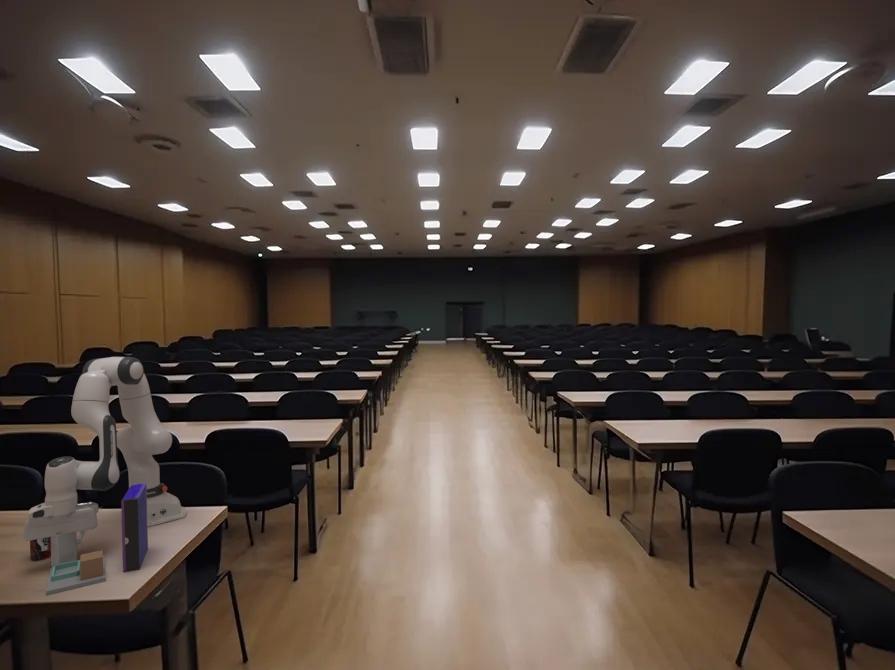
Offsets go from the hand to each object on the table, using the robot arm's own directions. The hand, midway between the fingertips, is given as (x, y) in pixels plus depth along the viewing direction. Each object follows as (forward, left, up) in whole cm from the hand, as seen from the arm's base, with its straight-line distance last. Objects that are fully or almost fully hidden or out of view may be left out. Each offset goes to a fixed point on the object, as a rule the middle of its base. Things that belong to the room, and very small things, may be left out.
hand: (62, 546), depth 177 cm
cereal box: (-21, +9, -7) cm, 24 cm away
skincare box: (-1, 0, -7) cm, 7 cm away
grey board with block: (-4, +12, -6) cm, 14 cm away
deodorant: (+7, -12, -7) cm, 15 cm away
